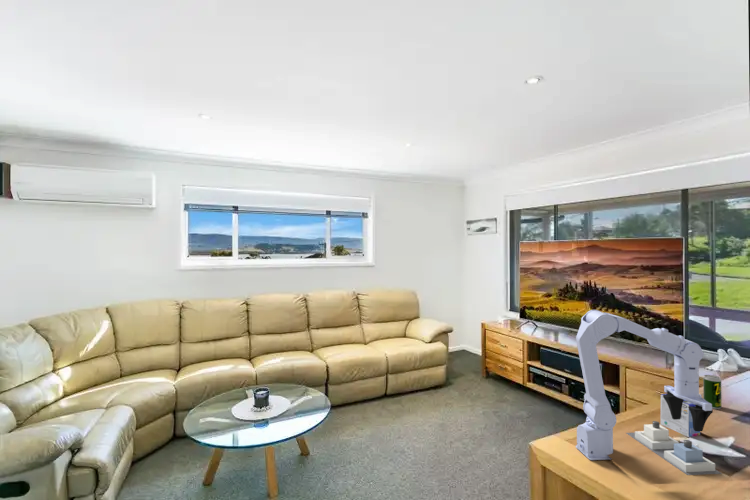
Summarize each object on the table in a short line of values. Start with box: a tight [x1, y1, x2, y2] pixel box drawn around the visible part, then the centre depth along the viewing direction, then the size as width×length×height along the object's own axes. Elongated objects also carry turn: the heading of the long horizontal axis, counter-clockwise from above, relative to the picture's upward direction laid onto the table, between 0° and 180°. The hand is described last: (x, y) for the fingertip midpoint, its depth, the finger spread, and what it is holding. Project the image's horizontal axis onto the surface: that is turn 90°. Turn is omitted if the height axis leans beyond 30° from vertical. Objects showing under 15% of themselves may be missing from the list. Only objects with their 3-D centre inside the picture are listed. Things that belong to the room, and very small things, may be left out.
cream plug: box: [643, 420, 670, 441], centre depth 121 cm, size 5×4×7 cm
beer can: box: [702, 374, 723, 410], centre depth 152 cm, size 5×5×12 cm
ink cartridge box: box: [660, 393, 701, 438], centre depth 130 cm, size 10×6×14 cm, turn 15°
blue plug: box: [674, 439, 704, 463], centre depth 109 cm, size 5×4×7 cm
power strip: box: [625, 430, 723, 476], centre depth 116 cm, size 10×24×4 cm, turn 3°
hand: (686, 424), depth 115 cm, fingers open, 7 cm apart
